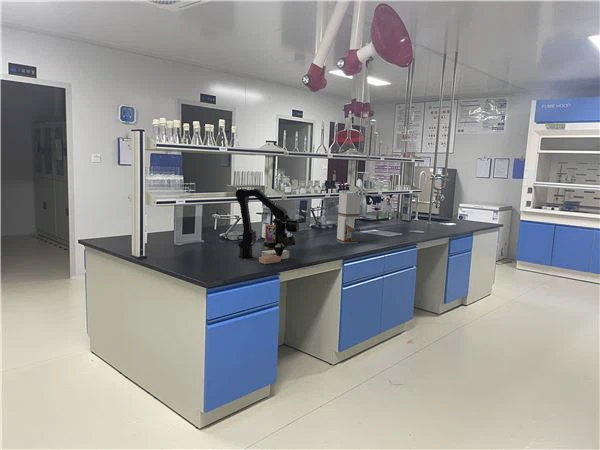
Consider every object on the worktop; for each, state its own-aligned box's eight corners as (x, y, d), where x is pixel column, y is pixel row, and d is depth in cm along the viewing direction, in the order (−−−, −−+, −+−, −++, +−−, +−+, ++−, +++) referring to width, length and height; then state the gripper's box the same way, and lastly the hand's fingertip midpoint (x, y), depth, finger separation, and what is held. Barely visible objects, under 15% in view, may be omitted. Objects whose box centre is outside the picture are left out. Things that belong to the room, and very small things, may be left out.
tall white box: (344, 243, 314) (346, 194, 309) (336, 241, 323) (339, 193, 319) (357, 243, 319) (360, 194, 314) (350, 240, 328) (353, 193, 323)
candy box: (278, 248, 288) (279, 224, 286) (278, 249, 284) (279, 225, 282) (264, 247, 287) (265, 224, 285) (264, 248, 283) (265, 225, 281)
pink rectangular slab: (264, 263, 240) (264, 258, 239) (258, 262, 244) (259, 257, 243) (280, 261, 247) (280, 256, 247) (274, 259, 251) (274, 254, 251)
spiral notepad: (270, 260, 249) (270, 253, 249) (261, 258, 255) (261, 250, 255) (289, 258, 259) (289, 251, 258) (280, 255, 265) (280, 248, 264)
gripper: (276, 234, 235) (275, 263, 238) (302, 231, 248) (301, 259, 250) (263, 231, 244) (262, 259, 246) (289, 229, 256) (288, 255, 258)
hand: (279, 258), depth 250 cm, fingers closed
